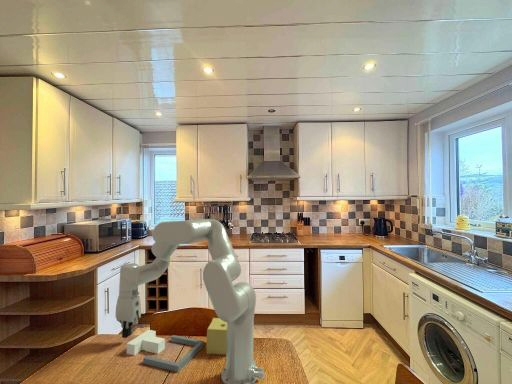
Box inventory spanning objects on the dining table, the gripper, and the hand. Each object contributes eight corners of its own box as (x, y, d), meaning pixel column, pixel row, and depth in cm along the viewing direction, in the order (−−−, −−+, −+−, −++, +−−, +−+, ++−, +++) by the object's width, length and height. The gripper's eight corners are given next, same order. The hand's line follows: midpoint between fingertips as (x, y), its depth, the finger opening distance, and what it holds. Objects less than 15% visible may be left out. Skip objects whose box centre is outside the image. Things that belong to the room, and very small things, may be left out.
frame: (203, 345, 105) (204, 341, 106) (178, 372, 88) (178, 366, 88) (173, 339, 110) (173, 335, 110) (143, 363, 93) (143, 357, 93)
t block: (170, 343, 107) (171, 334, 107) (150, 359, 96) (151, 348, 96) (148, 338, 111) (148, 329, 111) (126, 353, 99) (126, 343, 100)
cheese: (235, 342, 109) (235, 318, 110) (230, 356, 98) (230, 330, 99) (212, 340, 110) (212, 317, 111) (205, 354, 99) (205, 329, 100)
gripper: (148, 292, 110) (146, 335, 108) (122, 288, 114) (120, 329, 113) (135, 298, 103) (133, 344, 101) (108, 293, 107) (105, 337, 106)
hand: (126, 336), depth 107 cm, fingers closed
